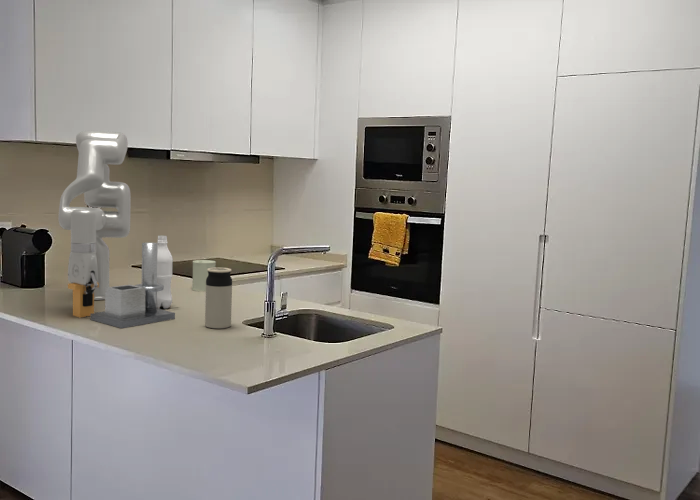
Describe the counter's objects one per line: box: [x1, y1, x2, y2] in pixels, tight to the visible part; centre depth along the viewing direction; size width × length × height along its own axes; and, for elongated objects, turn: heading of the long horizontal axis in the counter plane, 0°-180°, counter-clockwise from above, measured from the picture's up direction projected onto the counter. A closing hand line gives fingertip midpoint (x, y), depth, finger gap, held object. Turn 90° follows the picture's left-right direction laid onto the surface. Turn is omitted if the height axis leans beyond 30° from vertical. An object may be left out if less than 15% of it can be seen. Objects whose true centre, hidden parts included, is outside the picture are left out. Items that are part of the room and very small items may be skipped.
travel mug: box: [204, 267, 233, 330], centre depth 213 cm, size 8×8×18 cm
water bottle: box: [156, 235, 173, 310], centre depth 237 cm, size 7×7×25 cm
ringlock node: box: [90, 241, 176, 329], centre depth 218 cm, size 16×20×24 cm
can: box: [191, 259, 217, 292], centre depth 276 cm, size 9×9×12 cm
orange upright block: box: [67, 282, 99, 318], centre depth 221 cm, size 4×8×10 cm, turn 143°
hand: (83, 304), depth 221 cm, fingers closed on orange upright block, 4 cm apart
